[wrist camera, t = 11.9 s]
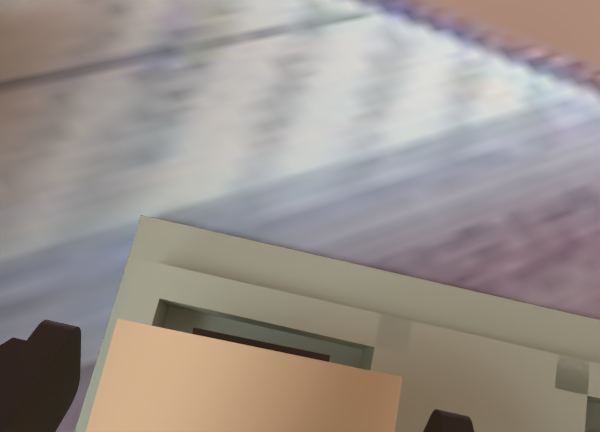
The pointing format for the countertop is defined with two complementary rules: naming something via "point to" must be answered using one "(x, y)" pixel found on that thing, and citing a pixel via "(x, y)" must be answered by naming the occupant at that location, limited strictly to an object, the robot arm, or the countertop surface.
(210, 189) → the countertop surface
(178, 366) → the block
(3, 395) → the robot arm
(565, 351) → the green slotted tray
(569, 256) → the countertop surface
